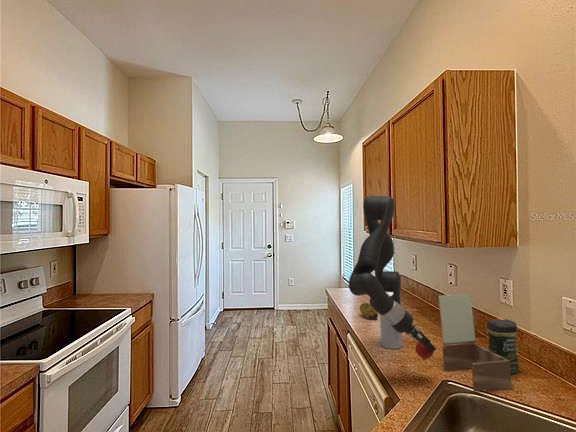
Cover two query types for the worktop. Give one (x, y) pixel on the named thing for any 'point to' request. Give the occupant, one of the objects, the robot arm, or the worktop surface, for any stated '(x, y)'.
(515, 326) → the coffee jar
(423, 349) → the onion
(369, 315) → the avocado
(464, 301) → the lid
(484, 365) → the cubby
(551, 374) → the worktop surface
